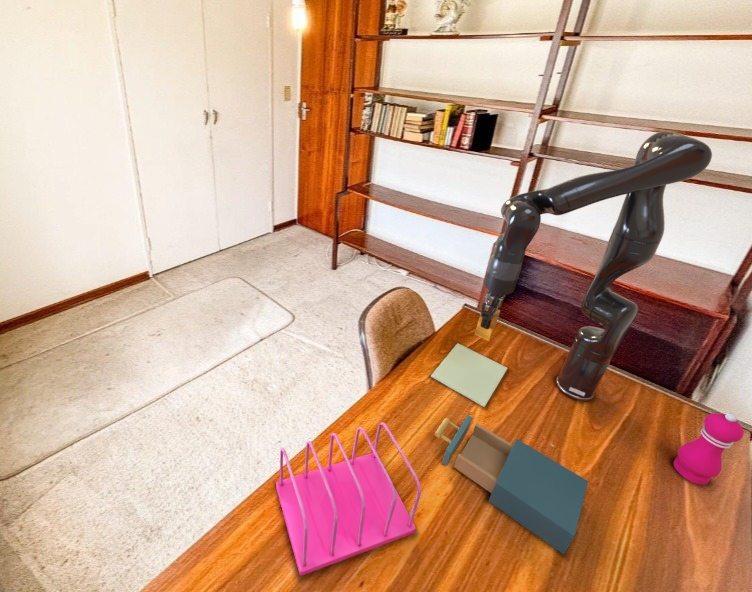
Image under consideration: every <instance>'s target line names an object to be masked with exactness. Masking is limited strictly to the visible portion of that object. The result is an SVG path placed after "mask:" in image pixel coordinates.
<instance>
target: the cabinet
mask: <svg viewBox="0 0 752 592" xmlns="http://www.w3.org/2000/svg"><path fill="white" fill-rule="evenodd" d="M512 445H513V447H512V449H511V451H510V454H509V456H508V458H507V460H506V462H505V464H504V466H503V469H502V471H501V473H500V475H499V477H498V479H497V481H496V484H495V486H494V489H493V491H492V493H490V496H489V499H488V503H490V504H492V505H493V506H494V507H495V508H497V509H499V510H500V511H501V512H502V513H504V514H506V515H507V516H508V517H509V518H511V519H512V520H514V521H515V522H517V523H518V524H519V525H521V526H522V527H524V528H525V529H527V530H528V531H530V532H531V533H532V534H534V535H535V536H536V537H538V538H539V539H541V540H542V541H544V542H545V543H546V544H548V545H549V546H550V547H552V548H553V549H555V550H556V551H557V552H559V553H561V554H562V555H564V554H565V553H566V551H567V550H568V548H569V546H570V545H571V543H572V541H573V540H574V538H575V536H576V533H577V529H578V525H579V521H580V517H581V513H582V512H581V511H582V508H583V505H584V501H585V496H586V492H587V489H588V485H589V480H587V479H586V478H584V477H582V476H581V475H579V474H577V473H576V472H574V471H572V470H571V469H569V468H567V467H565V466H564V465H562V464H560V463H559V462H557V461H555V460H554V459H552V458H551V457H548V456H546V455H545V454H543V453H542V452H540V451H539V450H536V449H535V448H533V447H531V446H530V445H528V444H526V443H525V442H524V441H522V440H520V439H518V438H516V439H515V441H514V443H513V444H512Z"/></svg>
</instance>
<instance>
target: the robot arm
mask: <svg viewBox="0 0 752 592" xmlns="http://www.w3.org/2000/svg"><path fill="white" fill-rule="evenodd" d="M712 157H713V152H712V149H711V148H710V146H709V145H708V144H707V143H705V142H704V141H702V140H699V139H697V138H694V137H691V136H688V135H685V134H683V133H679V132H676V131H673V130H672V131H671V130H661V131H658V132H656V133H654V134H651V135H650V136H649V137H647V138H646V139H645V141H644V142H643V143H642V144H641V145H640V147H639V148H638V150H637V154H636V156H635V160H634V164H633V165H630V166H628V167H623V168H619V169H614V170H607V171H601V172H600V171H599V172H594V173H589V174H585V175H581V176H577V177H573V178H571V179H568V180H565V181H563V182H561V183H558V184H554V185H553V186H551V187H548V188H544V189H538V190H533V191H528V192H524V193H520V194H516V195H514V196H512V197H510V198H509V199H507V200H506V201H504V203H502V206H501V209H500V214H501V217H502V218H503V220H504V221H505V222H506V223H507V225H506V229H505V232H504V233H501V234H500V235H498V237H497V238H496V241H495V244H494V248H493V251H492V254H491V257H490V258H489V261H488V264H487V268H486V271H485V275H484V279H483V286H484V287H485V288H486V289H487V290H488V291H487V292H486V294H485V300H484V302H482V304H481V310H480V314H481V317H483V318H482V322H481V325H480V326H481V327H482V328H485V329H489V327H490V324H491V321H492V319H493V316H494V313H496V312H497V311H498V310H500V308H501V307H502V305H503V302H504V300H505V299H506V296H507V295H511V294H513V293H514V291H515V289H516V286H517V283H518V280H519V277H520V274H521V272H522V266H523V261H524V258H525V255H526V253H527V249H528V247H529V245H530V243H532V241H533V239H534V237H535V236H536V234H537V233H538V231H539V229H540V227H541V222H542V215H546V214H550V215H553V216H562V215H566V214H569V213H571V212H574V211H577V210H579V209H582V208H586V207H587V206H590V205H593V204H596V203H599V202H601V201H606V200H609V199H613V198H616V197H619V196H620V197H621V196H623V195H625V197H624V200H623V203H622V205H621V208H620V211H619V213H618V216H617V219H616V222H615V224H614V226H613V228H612V231H611V233H610V236H609V239H608V242H607V245H606V248H605V250H604V254H603V256H602V259H601V262H600V264H599V267H598V269H597V271H596V273H595V275H594V277H593V279H592V281H591V283H590V285H589V287H588V289H587V291H586V292H585V295H584V297H583V299H582V303H581V305H580V312H581V313H582V315H583V316H584V317H586V318H588V319H589V320H591V321H592V322H595V323H596V324H598V325H600V326H601V327H599V326H593V325H585V326H582V327H580V328H579V329H578V330H577V332H576V334H575V336H574V338H573V341H572V344H571V346H570V349H569V351H568V353H567V355H566V357H565V360H564V362H563V364H562V366H561V369H560V371H559V373H558V375H557V377H556V379H555V385H556V386H557V388H558V389H559V390H560V391H561V392H562V393H563V394H564V395H566V396H568V397H570V399H574V400H577V401H580V402H589V401H591V400H593V398H594V396H595V393H596V391H597V389H598V387H599V385H600V383H601V381H602V379H603V378H604V376H605V373H606V371H607V370H608V367H609V366H610V364H611V361H612V359H613V357H614V355H615V353H616V351H617V349H618V348H619V346H620V344H621V343H622V341H623V340H624V338H625V336H626V334H627V332H628V331H629V329H630V327H631V326H632V324H633V323H634V321H635V319H636V318H637V315H638V313H639V306H638V305H637V303H636V302H634V301H632V300H630V299H627V298H626V297H624V296H622V295H621V294H618V293H616V292H614V291H612V290H611V288H612V285H613V284H614V282H615V281H616V280H617V279H619V278H620V277H622V276H623V275H625V274H627V273H630V272H631V271H633V270H636V269H638V268H640V267H642V266H643V265H645V264H647V263H648V262H650V261H651V260H652V259H653V258H654V257H655V255H656V253H657V251H658V248H659V246H660V244H661V241H662V239H663V237H664V234H665V226H666V225H665V223H666V222H665V221H666V220H665V209H664V196H665V195H664V194H665V190H666V187H667V185H672V184H676V183H680V182H683V181H687V180H690V179H692V178H695V177H697V176H698V175H700V174H702V173H703V172H704V171H705V170H706V169H707V168H708V167H709V165H710V163H711V162H712ZM602 327H603V328H602Z"/></svg>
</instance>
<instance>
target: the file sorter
mask: <svg viewBox="0 0 752 592" xmlns="http://www.w3.org/2000/svg"><path fill="white" fill-rule="evenodd" d="M382 427H383V428H384V429H385V430H386V432H387V434H388V436H389V438H390V439H391V441H392V443H393V444H394V447H395V448H396V449H397V451H398V453H399V454H400V456H401V457H402V459H403V461H404V464H405V465H406V467H407V469H408V470H409V471H410V473H411V475H412V477H413V479H414V481H415V485H416V490H417V491H416V496H415V500H414V503H413V507H412V510H411V513H410V514H409V512H408V510H407V508H406V506H405V504H404V503H403V501H402V499H401V497H400V495H399V493H398V491H397V489H396V488H395V485H394V484H393V480H392V478H391V477H390V475H389V473H388V471H387V470H386V467H385V466H384V464H383V462H382V460H381V457H380V456H379V454H378V452H377V450H378V445H379V439H380V435H381V428H382ZM360 432H362V434H363V436H364V438H365V440H366V441H367V443H368V446H369V447H370V449H371V451H372V452H371V453H368V454H365V455H361V456H357V457H356V454H357V453H356V452H357V446H358V442H359V436H360ZM334 439H335V441H336V443H337V446H338V448H339V449H340V452H341V454H342V456H343V458H344V461H341V462H336V463H333V464H332V461H333V460H332V459H333V448H334ZM329 443H330V444H329V454H328V463H327V464H328V465H327V466H324V467H322V465H321V462H320V460H319V456H318V455H317V452H316V449H315V447H314V444H313V443H312V441H311V440H307V441H306V445H305V446H306V447H305V462H304V472H303V473H301V474H297V475H294V473H293V469H292V466H291V463H290V460H289V457H288V454H287V451H286V449H285V448H284V447H281V448H280V450H279V480H277V481H276V485H275V488H276V493H277V496H278V500H279V504H280V506H281V507H280V508H281V511H282V515H283V518H284V522H285V525H286V529H287V533H288V538H289V541H290V544H291V548H292V551H293V556H294V559H295V563H296V567H297V571H298V575H299V576H300V577H302V576H306V575H307V574H310V573H312V572H316V571H318V570H321V569H323V568H326V567H329V566H331V565H334V564H337V563H339V562H342V561H344V560H347V559H350V558H353V557H355V556H358V555H360V554H361V555H362V554H364V553H366V552H368V551H372V550H374V549H377V548H379V547H383V546H385V545H387V544H389V543H393V542H394V541H397V540H400V539H403V538H406V537H408V536H411V535H414V534H415V532H416V525H415V524H414V519H415V516H416V515H415V514H416V513H417V509H418V505H419V503H420V498H421V494H422V489H421V483H420V480H419V478H418V475H417V474H416V472H415V470H414V468H413V466H412V465H411V463H410V461H409V460H408V458H407V456H406V455H405V453H404V452H403V450H402V448H401V447H400V445H399V443H398V441H397V439H396V438H395V437H394V435H393V433H392V432H391V430H390V429H389V427H388V425H387V424H386V423H385V422H379V423H378V425H377V429H376V436H375V440H374V445H373V443H372V441H371V439H370V437H369V435H368V433H367V432H366V430H365V428H364V427H362V426H358V427H357V429H356V432H355V438H354V442H353V449H352V454H351V458H350V459H349V458H348V456H347V453H346V451H345V449H344V447H343V445H342V443H341V440H340V438H339V436H338V434H337V433H335V432H332V433H331V434H330V442H329ZM310 449H311V452H312V455H313V457H314V460H315V462H316V465H317V469H314V470H310V471H309V459H310V458H309V455H310V454H309V453H310ZM284 460H285V463H286V466H287V469H288V473H289V477H287V478H284Z"/></svg>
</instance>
